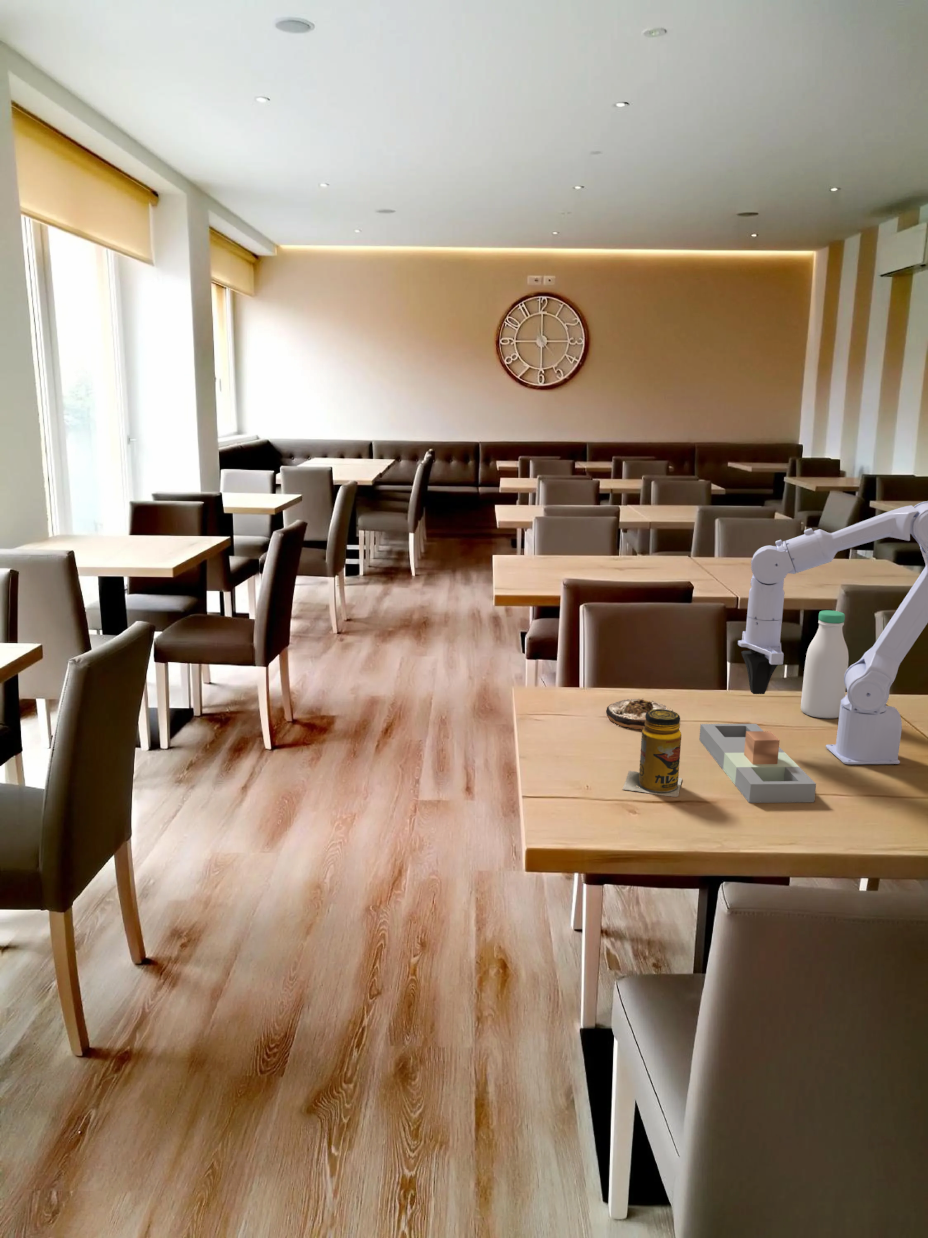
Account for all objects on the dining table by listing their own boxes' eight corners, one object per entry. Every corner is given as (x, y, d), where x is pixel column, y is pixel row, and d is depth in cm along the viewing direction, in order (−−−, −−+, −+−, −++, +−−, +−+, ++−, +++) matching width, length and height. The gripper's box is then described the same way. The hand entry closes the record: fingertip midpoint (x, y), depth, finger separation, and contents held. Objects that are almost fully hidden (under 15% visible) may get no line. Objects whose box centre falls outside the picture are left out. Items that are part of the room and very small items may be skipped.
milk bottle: (848, 720, 177) (860, 617, 173) (808, 719, 178) (818, 616, 173) (833, 706, 185) (844, 608, 180) (794, 706, 185) (804, 607, 180)
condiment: (677, 798, 143) (683, 723, 140) (622, 790, 145) (626, 717, 142) (681, 779, 150) (687, 708, 147) (628, 772, 152) (632, 702, 149)
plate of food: (628, 740, 167) (629, 718, 166) (586, 713, 181) (586, 693, 180) (696, 729, 173) (698, 708, 172) (650, 704, 186) (652, 684, 185)
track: (754, 739, 167) (756, 723, 166) (814, 802, 142) (816, 783, 141) (699, 740, 166) (700, 724, 166) (749, 802, 141) (750, 784, 140)
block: (768, 754, 152) (770, 731, 151) (777, 764, 148) (779, 740, 147) (744, 754, 152) (746, 731, 151) (752, 764, 148) (754, 740, 147)
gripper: (727, 607, 166) (721, 680, 169) (756, 627, 152) (749, 706, 155) (766, 607, 167) (760, 680, 170) (798, 627, 152) (790, 706, 156)
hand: (757, 693), depth 163 cm, fingers closed
